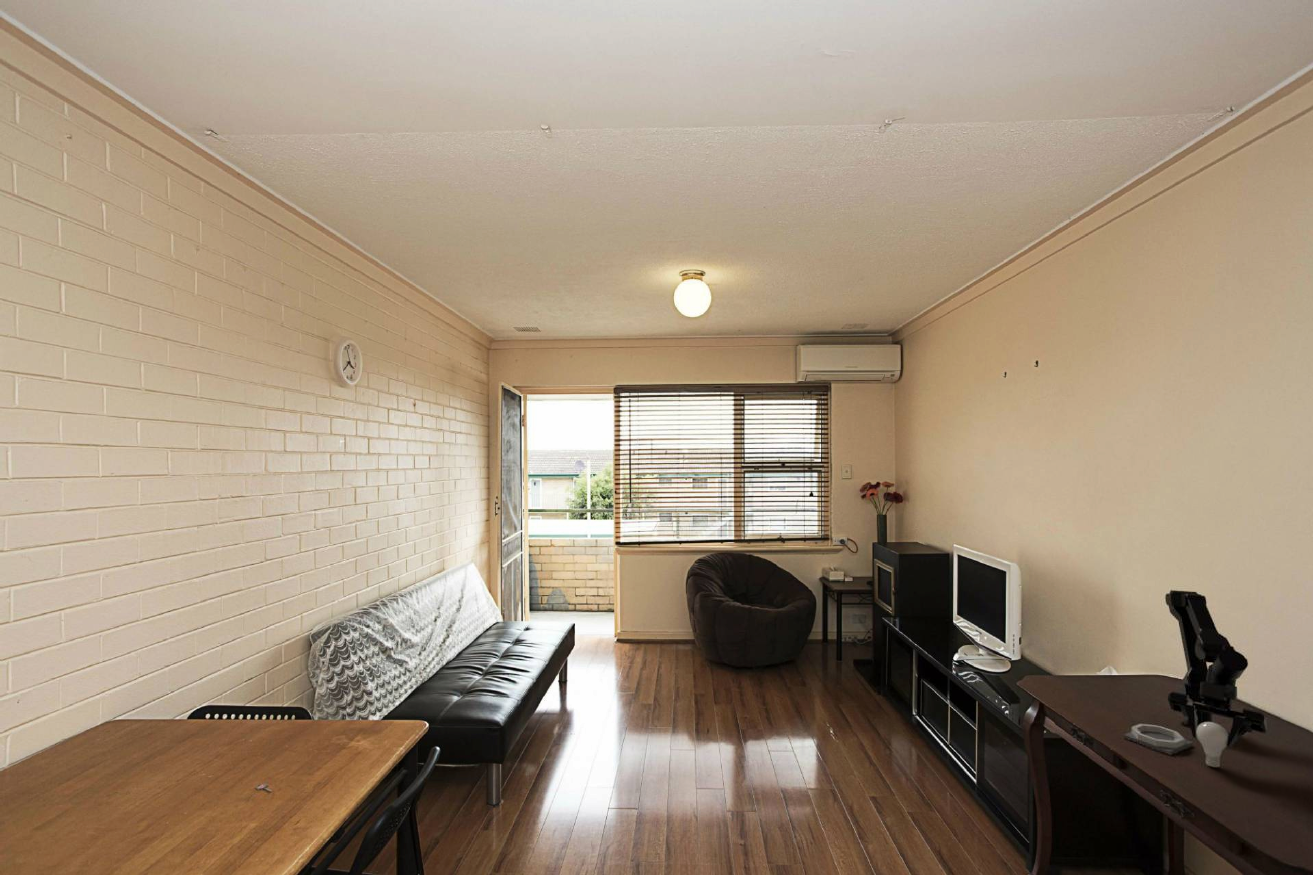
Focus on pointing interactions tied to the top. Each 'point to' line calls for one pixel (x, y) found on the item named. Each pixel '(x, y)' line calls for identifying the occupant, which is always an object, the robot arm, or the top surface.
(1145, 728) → the bulb stand
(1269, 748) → the top surface
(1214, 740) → the lightbulb
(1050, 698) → the top surface
